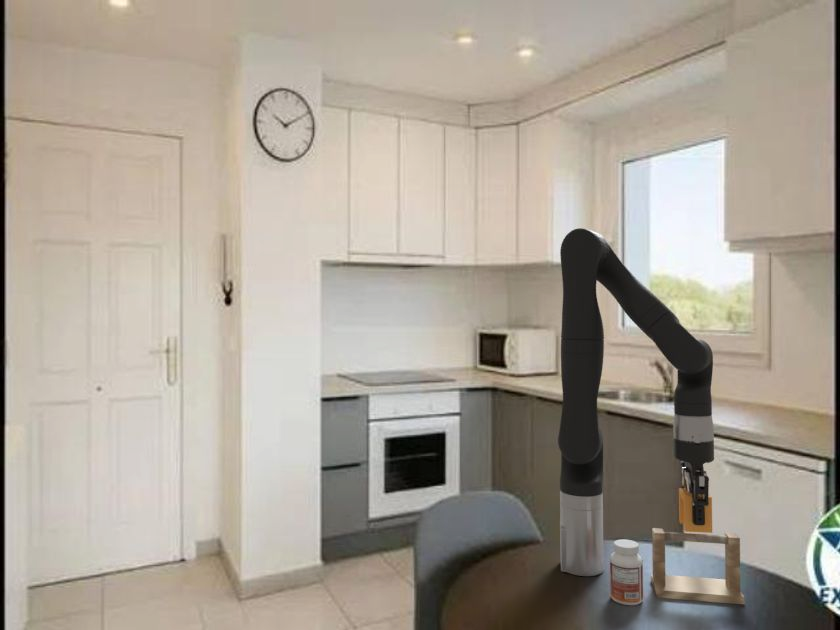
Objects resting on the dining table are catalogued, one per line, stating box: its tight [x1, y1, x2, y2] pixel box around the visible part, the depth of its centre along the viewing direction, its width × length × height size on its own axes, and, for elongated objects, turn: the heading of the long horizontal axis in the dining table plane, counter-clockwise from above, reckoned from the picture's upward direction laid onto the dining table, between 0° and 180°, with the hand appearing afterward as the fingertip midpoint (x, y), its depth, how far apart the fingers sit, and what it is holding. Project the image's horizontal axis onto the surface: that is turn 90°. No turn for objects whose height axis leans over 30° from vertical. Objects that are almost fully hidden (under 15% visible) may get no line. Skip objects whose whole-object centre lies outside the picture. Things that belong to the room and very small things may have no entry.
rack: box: [650, 527, 745, 605], centre depth 126 cm, size 16×8×12 cm, turn 78°
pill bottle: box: [609, 539, 644, 606], centre depth 123 cm, size 6×6×11 cm
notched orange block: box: [678, 487, 713, 534], centre depth 126 cm, size 5×6×7 cm
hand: (695, 519), depth 126 cm, fingers closed on notched orange block, 6 cm apart
